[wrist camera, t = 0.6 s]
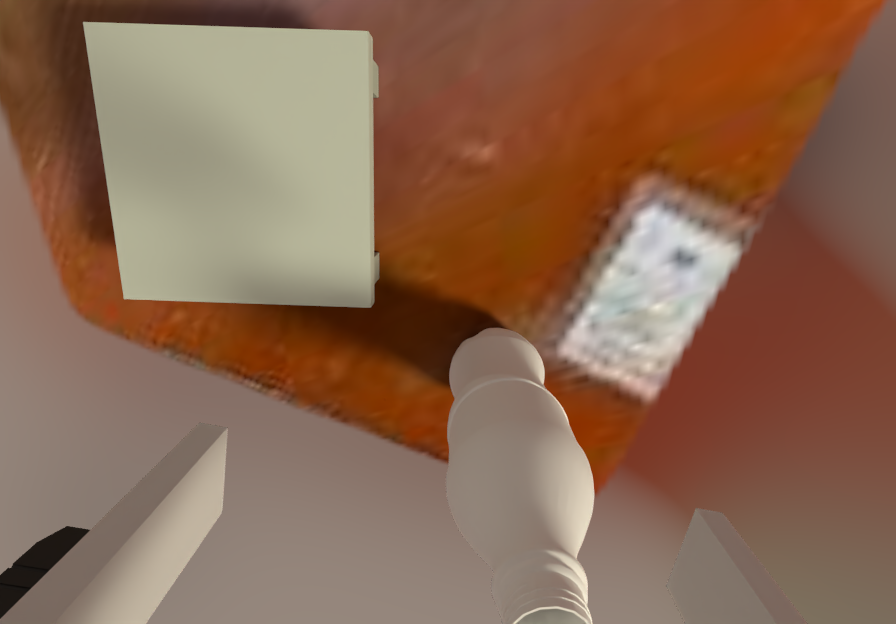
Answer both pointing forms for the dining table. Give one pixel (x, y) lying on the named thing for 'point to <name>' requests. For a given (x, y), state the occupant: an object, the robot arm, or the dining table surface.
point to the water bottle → (518, 480)
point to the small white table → (238, 161)
